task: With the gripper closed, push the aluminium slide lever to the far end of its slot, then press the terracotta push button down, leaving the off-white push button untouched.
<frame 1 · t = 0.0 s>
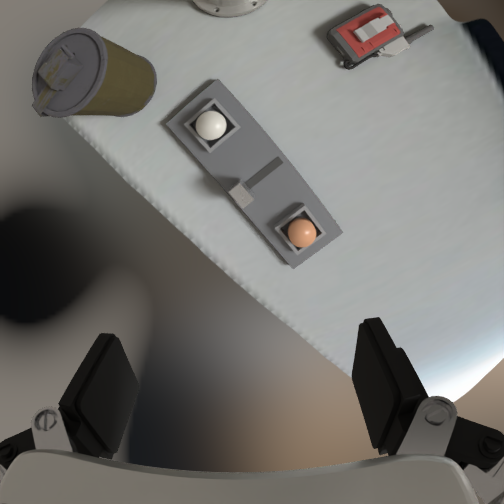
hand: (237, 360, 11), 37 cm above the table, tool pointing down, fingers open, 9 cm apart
lever: (241, 193, 42), point 4 cm above the table, slide at 0.0 cm
panel: (258, 175, 45), on the table
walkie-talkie: (379, 33, 35), on the table
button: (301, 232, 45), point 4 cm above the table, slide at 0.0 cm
canister: (125, 86, 39), on the table
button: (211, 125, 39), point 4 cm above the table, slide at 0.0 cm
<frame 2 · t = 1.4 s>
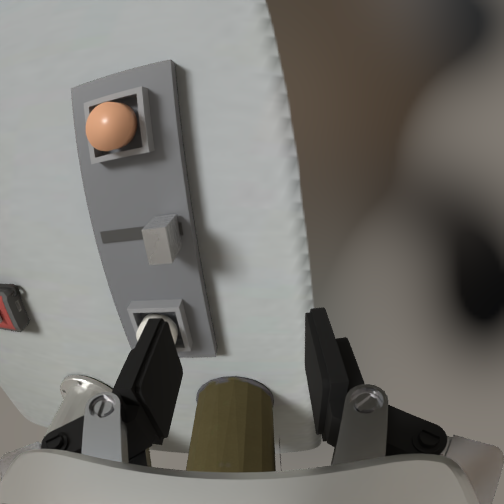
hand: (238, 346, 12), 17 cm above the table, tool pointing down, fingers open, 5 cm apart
lever: (163, 238, 25), point 4 cm above the table, slide at 0.0 cm
panel: (144, 227, 28), on the table
canister: (236, 399, 38), on the table
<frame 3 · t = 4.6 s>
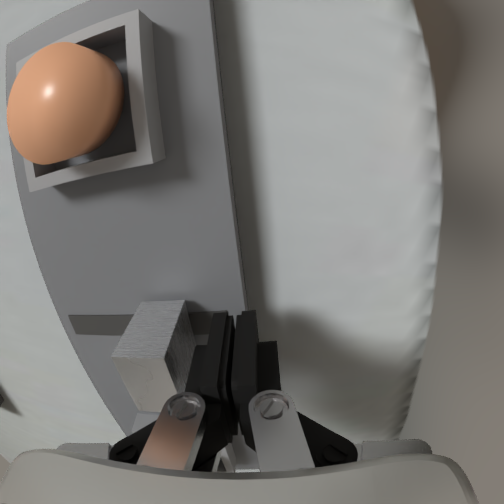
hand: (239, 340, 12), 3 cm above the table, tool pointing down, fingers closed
lever: (160, 355, 11), point 4 cm above the table, slide at 1.4 cm, touching gripper
panel: (149, 307, 15), on the table
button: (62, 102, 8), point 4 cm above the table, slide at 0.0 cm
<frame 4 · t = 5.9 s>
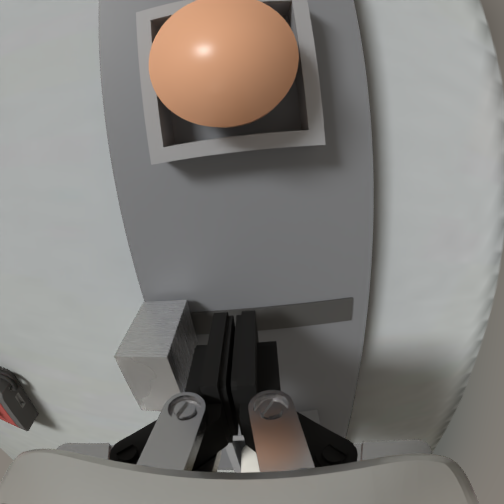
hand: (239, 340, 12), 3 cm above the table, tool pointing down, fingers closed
lever: (163, 355, 11), point 4 cm above the table, slide at 6.9 cm, touching gripper
panel: (258, 300, 15), on the table
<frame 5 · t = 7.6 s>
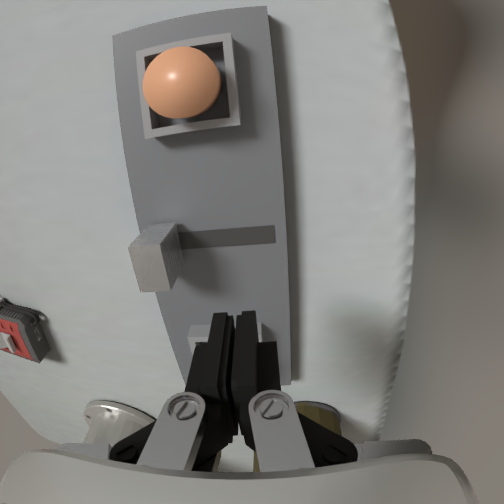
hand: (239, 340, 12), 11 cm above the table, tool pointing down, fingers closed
lever: (158, 256, 19), point 4 cm above the table, slide at 6.1 cm
panel: (214, 230, 22), on the table
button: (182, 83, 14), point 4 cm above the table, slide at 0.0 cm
canister: (298, 423, 32), on the table
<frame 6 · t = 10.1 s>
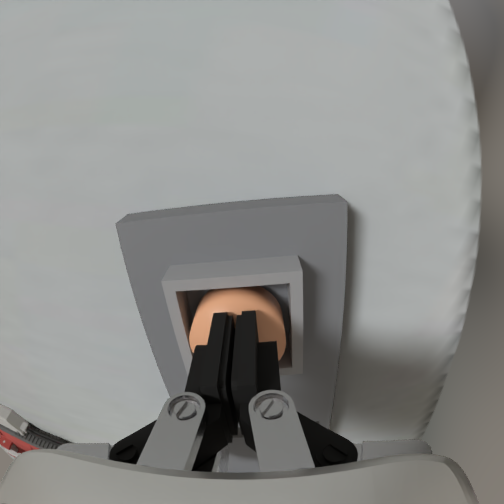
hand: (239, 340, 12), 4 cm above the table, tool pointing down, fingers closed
lever: (209, 457, 16), point 4 cm above the table, slide at 6.1 cm
panel: (256, 415, 19), on the table
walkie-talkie: (18, 422, 24), on the table
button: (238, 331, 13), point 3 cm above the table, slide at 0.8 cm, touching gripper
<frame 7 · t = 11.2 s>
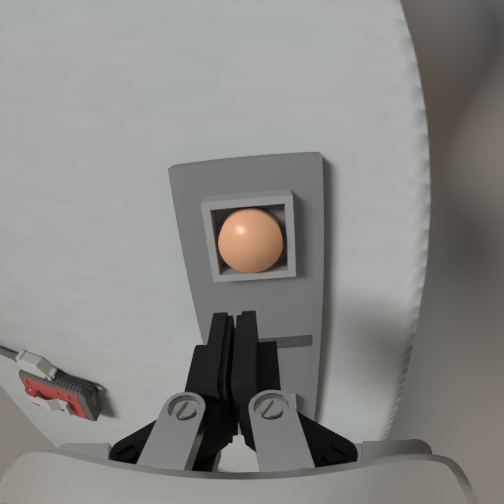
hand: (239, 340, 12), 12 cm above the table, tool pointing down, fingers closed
panel: (262, 332, 26), on the table
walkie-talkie: (44, 372, 32), on the table
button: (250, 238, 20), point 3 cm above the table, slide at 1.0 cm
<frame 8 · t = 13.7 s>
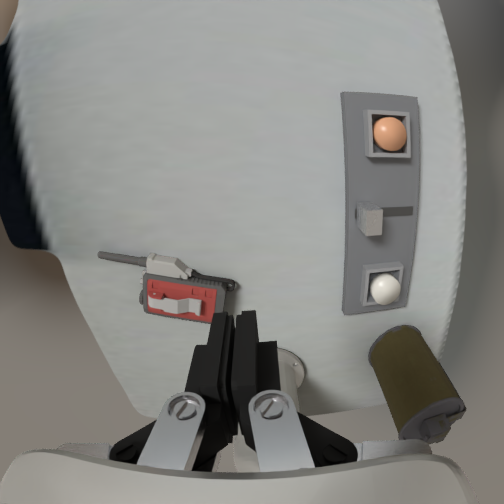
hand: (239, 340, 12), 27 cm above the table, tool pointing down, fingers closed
lever: (369, 218, 34), point 4 cm above the table, slide at 6.1 cm
panel: (380, 208, 37), on the table
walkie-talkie: (165, 280, 43), on the table
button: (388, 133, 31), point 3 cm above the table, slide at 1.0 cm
canister: (396, 347, 47), on the table
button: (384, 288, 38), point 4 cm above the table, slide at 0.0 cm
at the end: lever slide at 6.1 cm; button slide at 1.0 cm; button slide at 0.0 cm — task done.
